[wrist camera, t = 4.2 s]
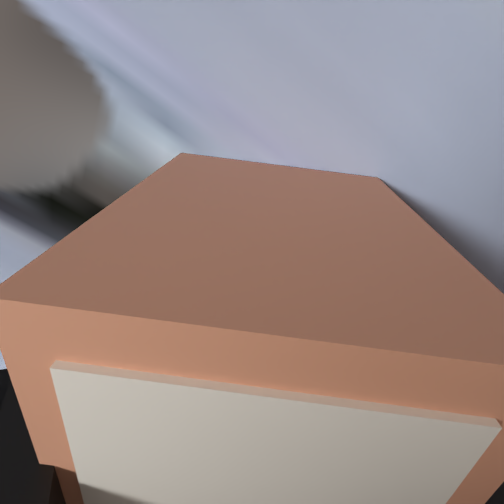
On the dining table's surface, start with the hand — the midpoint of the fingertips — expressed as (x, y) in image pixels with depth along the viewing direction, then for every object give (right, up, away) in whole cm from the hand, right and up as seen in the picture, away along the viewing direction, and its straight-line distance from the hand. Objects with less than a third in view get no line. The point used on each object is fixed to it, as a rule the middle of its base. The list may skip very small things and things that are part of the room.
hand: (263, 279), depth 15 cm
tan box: (0, 0, +1) cm, 1 cm away
